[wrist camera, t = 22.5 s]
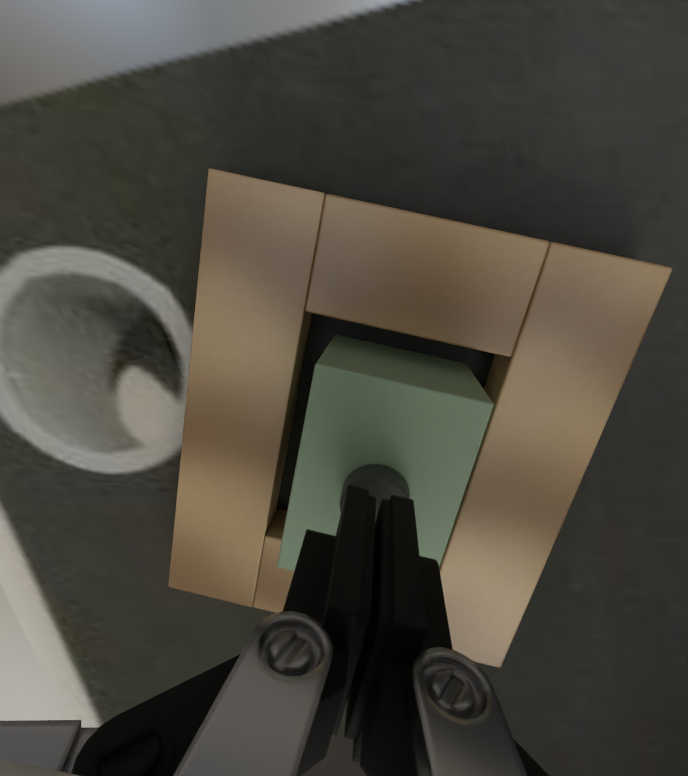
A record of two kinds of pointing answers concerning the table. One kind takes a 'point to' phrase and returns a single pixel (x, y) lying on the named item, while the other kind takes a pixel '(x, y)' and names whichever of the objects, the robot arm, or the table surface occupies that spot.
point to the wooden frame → (413, 317)
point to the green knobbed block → (385, 440)
